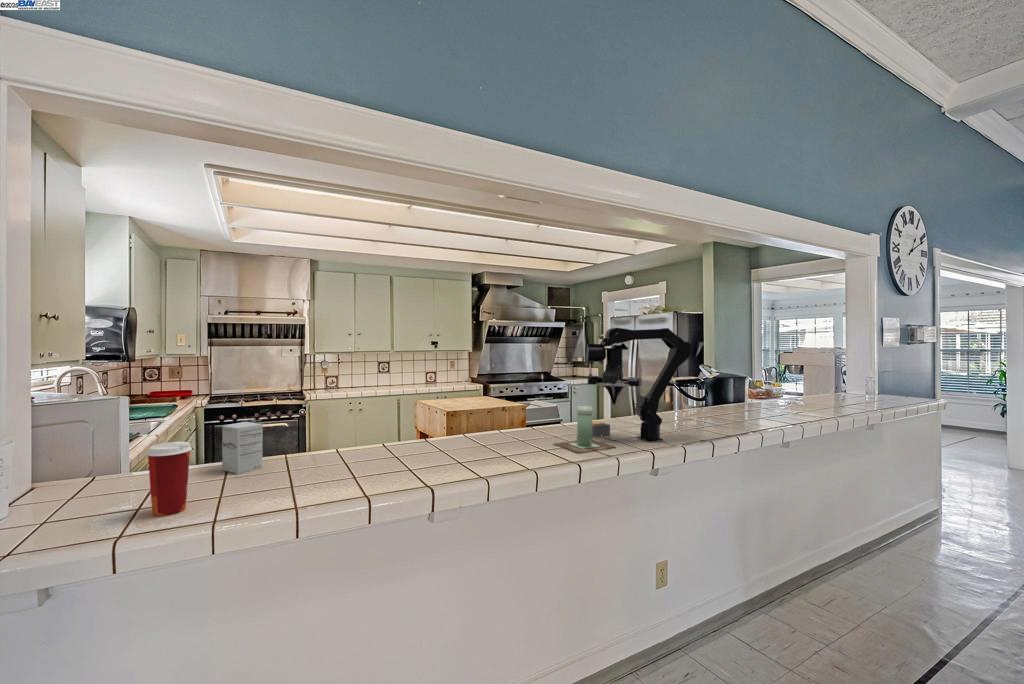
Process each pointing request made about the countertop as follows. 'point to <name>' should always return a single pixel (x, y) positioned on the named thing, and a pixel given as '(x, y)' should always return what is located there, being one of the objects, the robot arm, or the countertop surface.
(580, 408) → the green capped bottle
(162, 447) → the paper cup
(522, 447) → the countertop surface
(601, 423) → the button
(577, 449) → the picture board
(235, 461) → the supplement box
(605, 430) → the button box
